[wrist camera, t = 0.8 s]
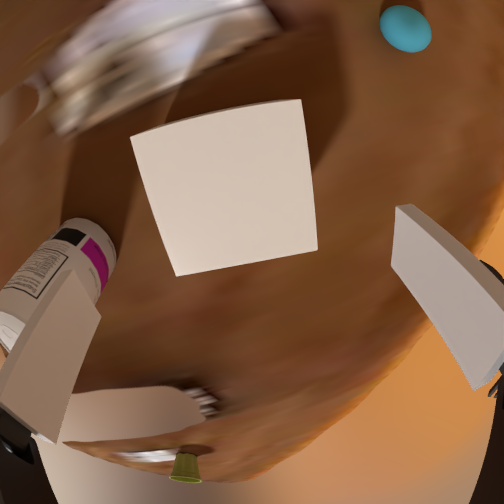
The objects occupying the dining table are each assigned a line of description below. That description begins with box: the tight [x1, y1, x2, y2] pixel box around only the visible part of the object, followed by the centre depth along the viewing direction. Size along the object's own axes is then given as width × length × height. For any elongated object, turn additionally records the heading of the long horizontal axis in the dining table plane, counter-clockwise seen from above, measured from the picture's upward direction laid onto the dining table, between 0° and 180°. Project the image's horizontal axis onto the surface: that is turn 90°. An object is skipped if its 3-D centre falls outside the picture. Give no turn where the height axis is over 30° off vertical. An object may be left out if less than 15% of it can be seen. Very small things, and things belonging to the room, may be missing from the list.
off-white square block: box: [130, 99, 318, 276], centre depth 21 cm, size 10×10×9 cm
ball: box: [380, 5, 431, 52], centre depth 15 cm, size 5×5×5 cm
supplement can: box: [0, 218, 116, 353], centre depth 21 cm, size 8×8×15 cm
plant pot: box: [169, 453, 202, 483], centre depth 60 cm, size 9×9×9 cm
